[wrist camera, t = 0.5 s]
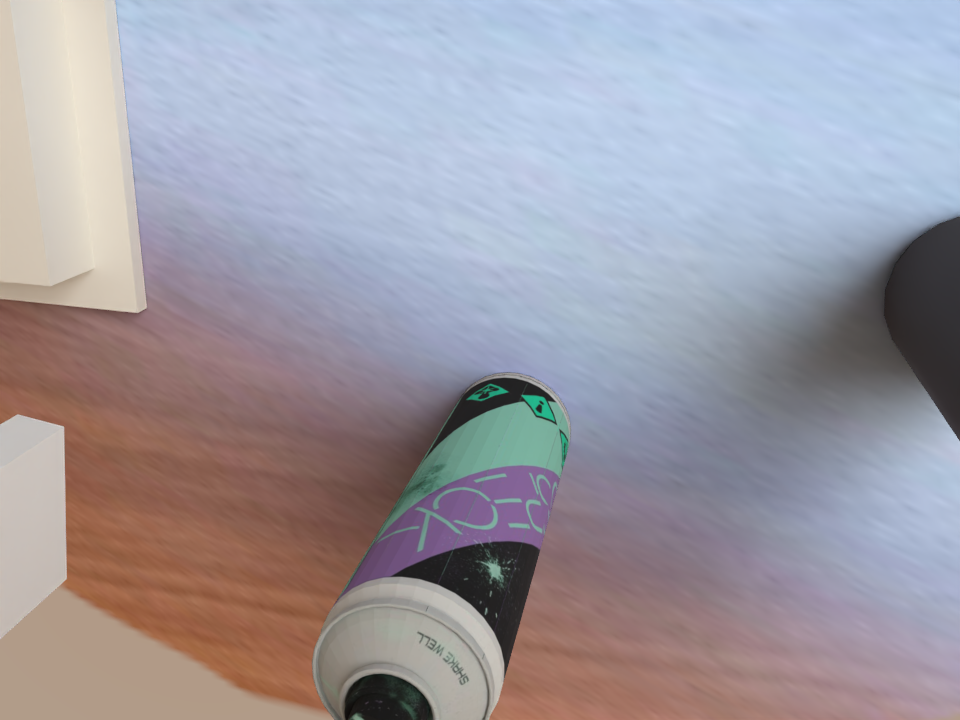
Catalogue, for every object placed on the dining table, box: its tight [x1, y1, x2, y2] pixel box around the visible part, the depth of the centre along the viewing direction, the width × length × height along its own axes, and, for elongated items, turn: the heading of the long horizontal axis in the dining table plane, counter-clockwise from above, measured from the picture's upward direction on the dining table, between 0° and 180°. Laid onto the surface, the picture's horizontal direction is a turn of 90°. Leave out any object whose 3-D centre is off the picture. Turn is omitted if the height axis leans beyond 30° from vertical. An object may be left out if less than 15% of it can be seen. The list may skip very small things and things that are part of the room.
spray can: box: [312, 373, 571, 720], centre depth 32 cm, size 6×6×20 cm
